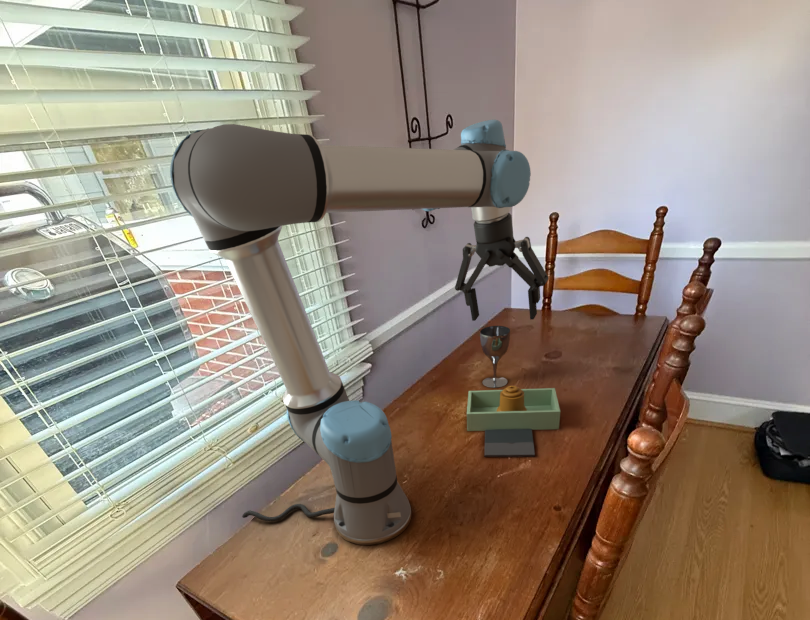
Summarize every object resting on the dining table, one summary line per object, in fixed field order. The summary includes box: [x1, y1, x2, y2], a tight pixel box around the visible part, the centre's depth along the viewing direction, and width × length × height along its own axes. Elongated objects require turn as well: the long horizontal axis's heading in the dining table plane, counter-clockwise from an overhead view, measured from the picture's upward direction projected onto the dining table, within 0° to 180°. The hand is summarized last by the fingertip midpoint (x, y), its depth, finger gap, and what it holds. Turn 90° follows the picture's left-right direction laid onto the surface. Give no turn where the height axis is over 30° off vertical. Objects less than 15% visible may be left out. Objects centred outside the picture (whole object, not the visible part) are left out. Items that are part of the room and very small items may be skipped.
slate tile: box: [483, 429, 536, 458], centre depth 110 cm, size 11×11×1 cm
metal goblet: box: [479, 325, 511, 389], centre depth 132 cm, size 8×8×15 cm
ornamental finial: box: [496, 384, 527, 412], centre depth 117 cm, size 8×8×8 cm
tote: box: [466, 387, 561, 432], centre depth 118 cm, size 22×12×5 cm, turn 82°
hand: (503, 317), depth 108 cm, fingers open, 13 cm apart
